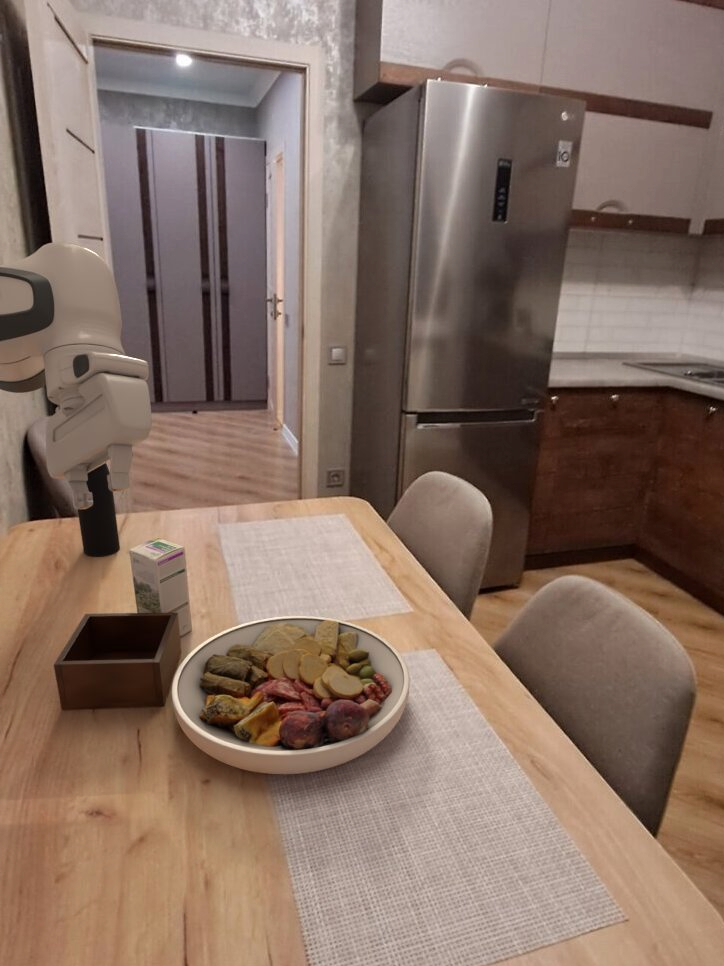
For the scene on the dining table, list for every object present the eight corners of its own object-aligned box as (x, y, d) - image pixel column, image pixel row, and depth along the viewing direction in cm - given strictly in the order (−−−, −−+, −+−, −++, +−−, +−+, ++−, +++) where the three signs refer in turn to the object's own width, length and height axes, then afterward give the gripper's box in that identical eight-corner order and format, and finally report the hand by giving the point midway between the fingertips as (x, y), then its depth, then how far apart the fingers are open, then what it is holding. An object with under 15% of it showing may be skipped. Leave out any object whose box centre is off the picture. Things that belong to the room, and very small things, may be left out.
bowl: (138, 690, 89) (132, 639, 86) (324, 624, 107) (325, 580, 104) (245, 833, 68) (242, 774, 65) (454, 721, 87) (460, 670, 83)
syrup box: (193, 630, 104) (187, 544, 98) (163, 647, 99) (154, 558, 93) (168, 619, 106) (160, 535, 101) (137, 635, 102) (127, 548, 96)
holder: (61, 709, 85) (53, 664, 82) (91, 654, 96) (85, 613, 94) (164, 706, 86) (159, 662, 84) (181, 652, 98) (177, 612, 95)
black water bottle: (89, 559, 125) (66, 399, 113) (79, 547, 129) (56, 392, 117) (124, 551, 128) (105, 396, 117) (113, 540, 133) (94, 389, 121)
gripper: (27, 407, 82) (37, 517, 81) (98, 346, 69) (112, 477, 67) (79, 413, 87) (90, 517, 85) (155, 357, 73) (170, 479, 72)
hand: (100, 499), depth 76 cm, fingers open, 8 cm apart
